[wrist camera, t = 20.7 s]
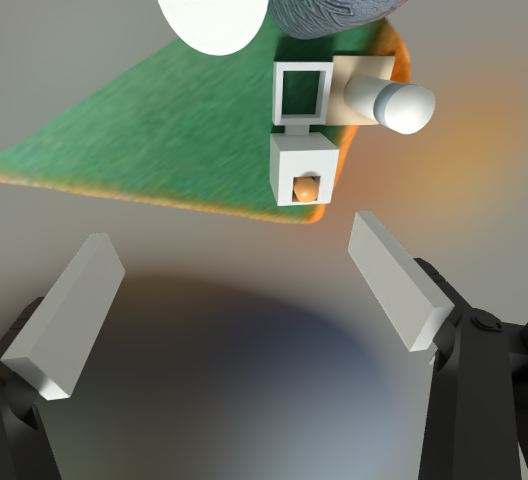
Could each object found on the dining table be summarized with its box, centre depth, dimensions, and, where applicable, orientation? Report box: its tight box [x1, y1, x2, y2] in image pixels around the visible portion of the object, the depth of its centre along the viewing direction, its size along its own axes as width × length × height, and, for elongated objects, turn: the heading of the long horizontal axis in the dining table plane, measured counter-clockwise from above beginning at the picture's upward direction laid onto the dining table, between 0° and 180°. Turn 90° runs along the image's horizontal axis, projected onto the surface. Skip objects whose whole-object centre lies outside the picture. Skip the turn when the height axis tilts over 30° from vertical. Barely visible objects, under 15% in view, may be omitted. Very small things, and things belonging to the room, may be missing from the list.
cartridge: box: [343, 75, 435, 134], centre depth 37 cm, size 5×5×16 cm
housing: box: [270, 61, 339, 206], centre depth 42 cm, size 20×9×10 cm, turn 0°
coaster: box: [324, 56, 396, 126], centre depth 43 cm, size 10×10×1 cm
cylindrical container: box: [158, 0, 268, 55], centre depth 26 cm, size 7×7×25 cm
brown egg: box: [293, 176, 319, 203], centre depth 44 cm, size 4×4×6 cm
